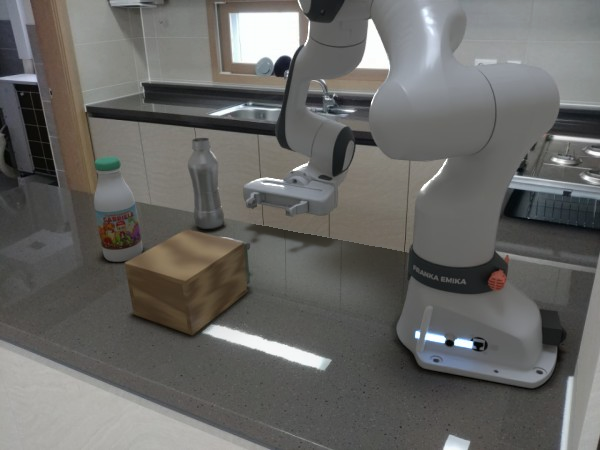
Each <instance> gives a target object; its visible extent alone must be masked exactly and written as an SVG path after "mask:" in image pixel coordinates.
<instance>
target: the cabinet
mask: <svg viewBox="0 0 600 450" xmlns="http://www.w3.org/2000/svg"><path fill="white" fill-rule="evenodd" d="M196 231H197V230H191V229H188V228H185V229H184V230H182V231H180V232H179V233H177V234H174V235H173V236H171V237H170V238H168V239H166V240H163V241H162V242H160V243H157V244H156V245H154V246H153V247H151V248H149V249H147V250H145V251H144V252H142V253H141V254H140V255H138V256H136V257H134V258H133V259H131V260H127V261H124V268H125V274H126V279H127V284H128V291H129V295H130V296H129V297H130V301H131V306H132V313H133V315H134V316H137V317H139V318H142V319H146V320H148V321H151V322H153V323H156V324H159V325H161V326H165V327H167V328H170V329H173V330H176V331H179V332H181V333H185V334H187V335H190V336H194V335H195V334H196V333H198V332H199V331H200V330H202V329H203V328H204V327H206V326H207V325H208V324H209V323H211V322H212V321H213V320H214V319H216V317H218V316H219V315H221V314H222V313H223V312H224V311H225V310H227V309H228V308H229V307H231V306H232V305H233V304H234V303H236V302H237V301H238V300H239V299H241V298H242V297H244V295H246V294H247V293H248V284H247V280H246V268H245V255H244V243H242V242H238V241H234V240H235V239H234V240H230V239H231V238H230V239H225V238H221V237H222V236H219V237H217V236H218V235H215V236H213V235H214V234H211V235H209V234H210V233H206V234H204V233H205V232H202V233H200V232H201V231H198V232H196Z"/></svg>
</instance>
